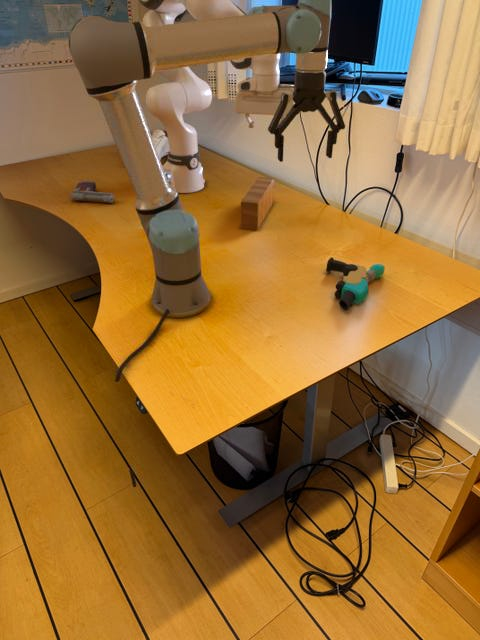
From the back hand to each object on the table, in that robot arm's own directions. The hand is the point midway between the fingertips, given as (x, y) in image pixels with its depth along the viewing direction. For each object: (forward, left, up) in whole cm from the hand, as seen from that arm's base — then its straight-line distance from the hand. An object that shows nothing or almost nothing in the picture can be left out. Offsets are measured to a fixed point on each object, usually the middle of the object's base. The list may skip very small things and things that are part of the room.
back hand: (264, 128), depth 161 cm
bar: (+4, -7, -28) cm, 29 cm away
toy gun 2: (+56, -25, -28) cm, 67 cm away
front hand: (+34, -20, +2) cm, 40 cm away
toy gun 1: (-53, -39, -28) cm, 71 cm away
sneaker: (-76, +4, -28) cm, 81 cm away
